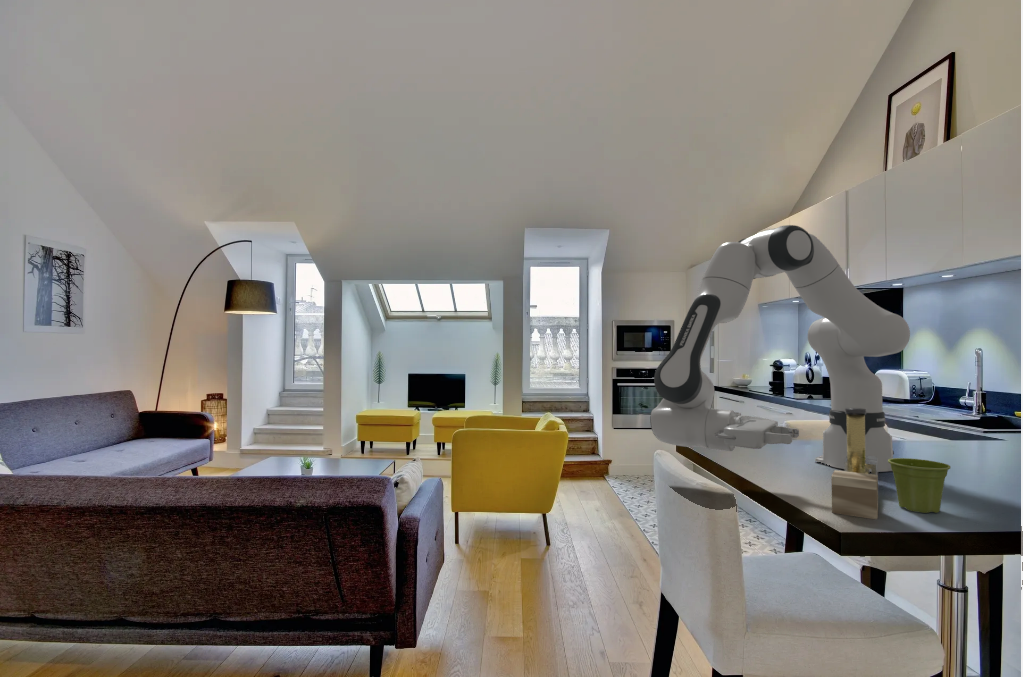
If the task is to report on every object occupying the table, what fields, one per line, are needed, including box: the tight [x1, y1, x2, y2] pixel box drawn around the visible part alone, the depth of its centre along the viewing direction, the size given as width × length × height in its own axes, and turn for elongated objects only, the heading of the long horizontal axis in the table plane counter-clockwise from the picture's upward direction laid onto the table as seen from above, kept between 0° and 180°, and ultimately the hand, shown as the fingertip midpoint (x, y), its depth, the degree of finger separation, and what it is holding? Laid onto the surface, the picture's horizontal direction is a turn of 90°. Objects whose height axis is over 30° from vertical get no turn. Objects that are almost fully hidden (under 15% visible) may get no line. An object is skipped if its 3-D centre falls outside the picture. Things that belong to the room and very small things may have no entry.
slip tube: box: [845, 408, 870, 474], centre depth 108 cm, size 20×3×17 cm, turn 145°
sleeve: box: [843, 456, 879, 476], centre depth 118 cm, size 10×6×6 cm, turn 145°
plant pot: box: [888, 457, 951, 514], centre depth 102 cm, size 9×9×9 cm
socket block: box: [830, 469, 879, 520], centre depth 100 cm, size 6×7×7 cm
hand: (795, 436), depth 111 cm, fingers open, 8 cm apart
